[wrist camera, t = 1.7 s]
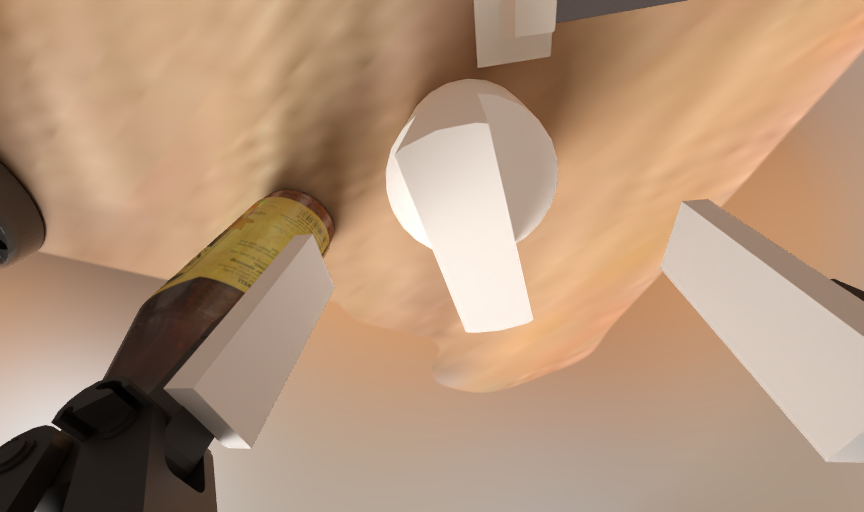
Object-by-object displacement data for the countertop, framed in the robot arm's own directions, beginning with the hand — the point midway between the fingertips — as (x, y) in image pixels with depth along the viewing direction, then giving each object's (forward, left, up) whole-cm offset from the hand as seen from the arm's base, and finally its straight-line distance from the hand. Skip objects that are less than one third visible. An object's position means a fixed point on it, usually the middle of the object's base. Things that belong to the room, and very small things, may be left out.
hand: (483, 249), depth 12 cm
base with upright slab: (0, 0, -12) cm, 12 cm away
